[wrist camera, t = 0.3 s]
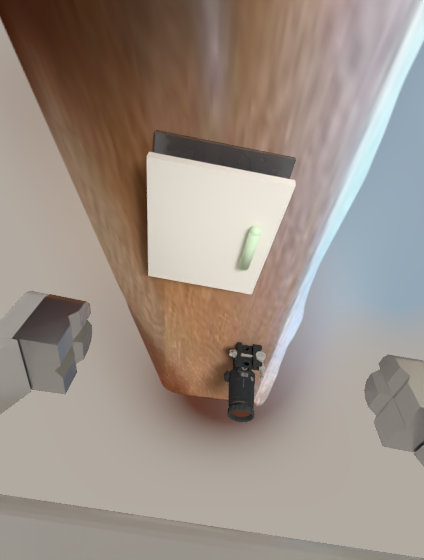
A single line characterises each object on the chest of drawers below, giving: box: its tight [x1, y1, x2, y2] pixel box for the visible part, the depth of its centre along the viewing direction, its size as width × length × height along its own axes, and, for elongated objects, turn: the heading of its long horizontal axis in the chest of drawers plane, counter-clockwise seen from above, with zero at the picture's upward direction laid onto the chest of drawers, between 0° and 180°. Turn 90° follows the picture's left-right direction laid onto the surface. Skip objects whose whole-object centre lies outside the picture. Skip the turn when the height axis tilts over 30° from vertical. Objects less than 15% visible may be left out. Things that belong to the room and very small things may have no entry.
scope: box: [224, 342, 266, 422], centre depth 69 cm, size 8×14×10 cm
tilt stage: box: [147, 152, 296, 294], centre depth 46 cm, size 22×18×3 cm
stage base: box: [154, 130, 296, 179], centre depth 49 cm, size 23×19×4 cm
